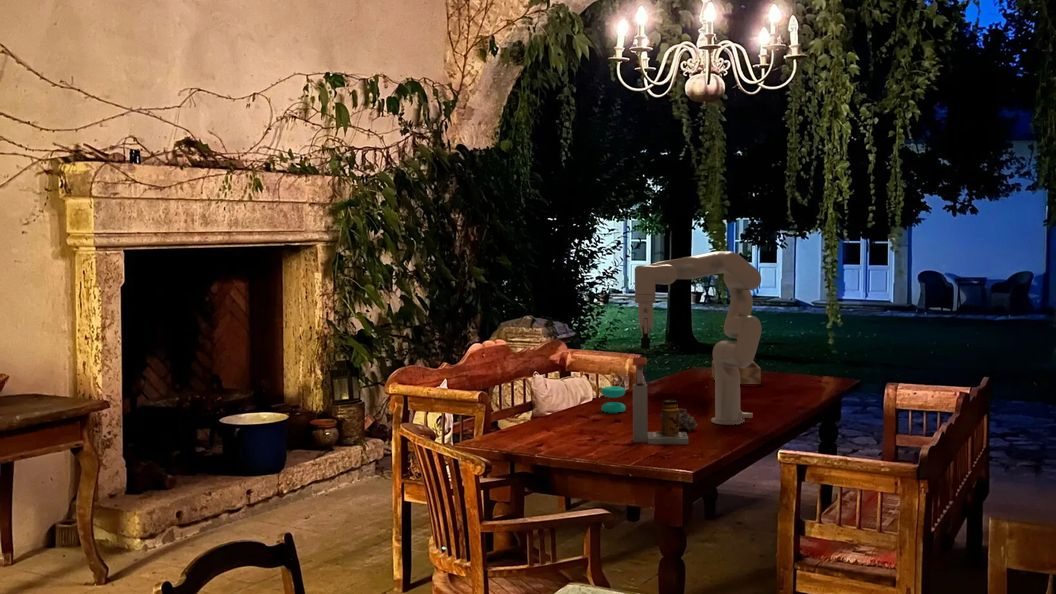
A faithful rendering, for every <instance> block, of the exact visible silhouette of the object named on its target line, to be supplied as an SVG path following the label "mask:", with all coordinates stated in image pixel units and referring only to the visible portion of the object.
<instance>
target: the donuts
mask: <svg viewBox="0 0 1056 594" xmlns="http://www.w3.org/2000/svg"><path fill="white" fill-rule="evenodd" d="M600 393H601V394H602V395H603V396H604V397H608V398H620V397H623V396H624V395H625V394H626V389H625V387H623V386H615V385H614V386H612V385H611V386H604V387H603V388H601V391H600ZM626 409H627V408H626V405H625V404H624V403H622V402H617V401H616V402H615V401H610V402H604V404H602V405H601V411H602V412H603V411H604V412H603V413H606V412H608V413H607V414H619V413H618V412H621V413H623V412H625V411H626Z"/></svg>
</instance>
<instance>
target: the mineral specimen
mask: <svg viewBox="0 0 1056 594" xmlns="http://www.w3.org/2000/svg"><path fill="white" fill-rule="evenodd" d="M678 409H679V428H682V429H684V428H685V429H686V430H687V431H688V432H692V430H693V429H695V428H696V427H697V426H698V423H697V421H696V420H695V418H694V416H690V413H688V410H687V408H683V407H680V408H678ZM659 417H660V418H661V420H662V413H661V414H660V415H659Z"/></svg>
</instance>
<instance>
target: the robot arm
mask: <svg viewBox="0 0 1056 594" xmlns="http://www.w3.org/2000/svg"><path fill="white" fill-rule="evenodd" d="M719 274H723V283H724V284H725V286H726V287H727V290H728V291H729V294H730V295H729V296H730V302H729V307H728V310H727V313H726V317H725V321H724V324H723V332H724V334H725V336H727V337H729V338H731V339H736V341H733V340H726V339H725V340H720V341H719V342H717V343H716V344H715V345H714V346H713V349H712V359H713V360H712V361H714V366H715V382H714V385H715V386H714V388H715V389H714V397H715V400H714V403H715V404H714V408H715V409H714V410H715V415H714V416H715V417H712V418H711V419H710V421H711V423H713V424H717V425H725V426H726V425H727V426H728V425H729V426H733V425H734V426H735V424H736V425H742V424H744V423H745V418H747V419H752V418H753V417H754V416H753V415H754V414H753V412H743V411H742V409H741V387H740V372H739V369H738V367H739V368H745V367H748V366H749V365H750V364H751V363H752V361H754V359H755V356H756V353H757V350H758V346H759V343H760V340H761V335H762V324H761V321H760V319H759V318H758V317H756V316H754V315H751V314H752V310H753V306H754V304H753V303H754V300H753V299H754V298H753V295H752V292H751V291H754V290H756V289H758V288H759V287H760V285H761V283H762V276H761V273H760V271H759V270H758V269H757V268H756V267H755V266H754V265H753V264H751V263H750V262H749V261H747V260H746V259H745V258H744V257H742V256H741V255H739V253H737V252H734V251H730V250H729V251H726V250H725V251H723V250H719V251H718V250H717V251H716V250H715V251H712V252H707V253H702V254H697V255H692V256H684V257H681V258H680V257H679V258H675V259H670V260H668V259H667V260H663V261H656V262H654V263H653V262H652V263H650V264H648V265H647V264H644V265H643V264H641V265H636V266H635V267H634V303H635V304H637V305H638V306H637V308H638V309H637V310H638V326H639V330H640V331H641V337H640V349H642V350H650V349H651V338H650V330H651V331H653V330H654V305H653V304H655V303H656V285H664V286H665V285H670V284H673V283H674V282H676V281H677V280H695V279H699V278H705V277H708V276H714V275H719ZM743 422H744V423H743ZM741 423H742V424H741Z"/></svg>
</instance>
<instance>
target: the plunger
mask: <svg viewBox="0 0 1056 594" xmlns="http://www.w3.org/2000/svg"><path fill="white" fill-rule="evenodd" d="M632 365H633V366H636V384H637V386H643V384H644V380H643V379H644V376H643V375H644V373H643V371H644V367H645V366H647V365H648V358H647V357H644V356H643V357H642V356H638V357H637V356H635V357H632Z"/></svg>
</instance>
